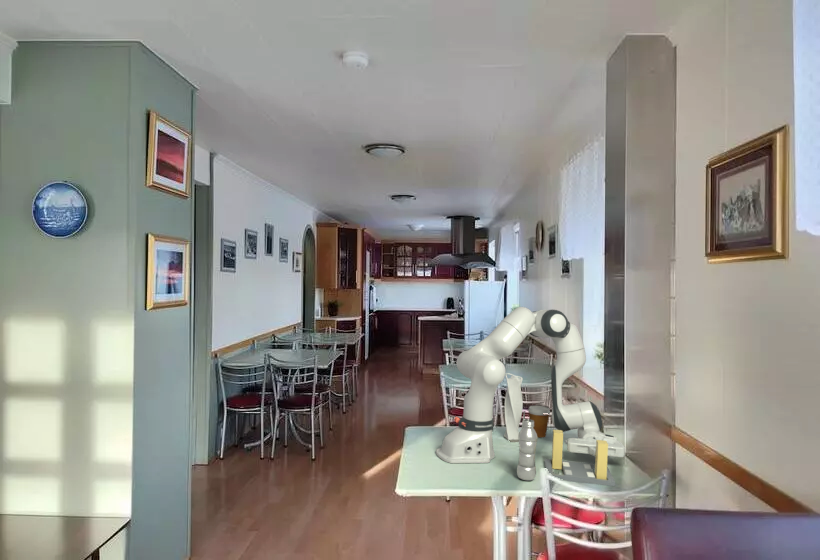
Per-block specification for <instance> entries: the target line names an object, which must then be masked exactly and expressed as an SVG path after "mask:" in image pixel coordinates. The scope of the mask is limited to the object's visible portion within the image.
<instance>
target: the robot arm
mask: <svg viewBox="0 0 820 560" xmlns="http://www.w3.org/2000/svg"><path fill="white" fill-rule="evenodd" d="M528 335H531V336H532V337H536V338H544V339H546V338H550V339H551V340H552V342H553V344H554V347H555V352H556V361H555V364H554V365H553V366H552V367H551V374H550V375H551V377H550V378H551V385H550V386H551V405H552V409H551V422H552V425H553V427H554V428H555V430H562V431H563V433H565V432H568V431H571V430H577V437H569V438H567V439H565V441H564V443H565V445H566V446H567V447H566V449H567V450H566V451H567V452H569V453H576V454H584V455H585V454H586V455H589V456H593V457H596V440H603V441H607V443H608V457H615V458H624V457H625V456H626V455H625V454H626V447H625V445H624V444H623V443H622V442H621V441H620V440H618V437H617V436H616V435H611V434H606V433H603V432H602V431H601V428H602V426H603V420H602V415H601V413H600V409H599V408H598V406H597V405H596V404H595V403H593V401H589V400H588V401H582V402H578V403H569V404H563V389H562V388H563V384H564V382H565V381H566V380H567V379H568V378H570V377H571V376H573V375H575V374H576V373H578V372H579V371H581V369H583V368H584V366H585V364H586V362H587V355H586V354H587V353H586V349H585V345H584V341H583V338H582V336H581V333H580V331H579V328H578V326H577V325H576V324H575V323H572V322H570V321H569V320H568V318H567V316H566V315H565V314H564V312H562V311H560V310H557V309H541V310H535V311H532V310H531V309H529V308H527V307H525V306H518V307H516V308H514V309H512V311H511V312H510V313H508V314H507V315H506V316H504V318H503V319H502V320H501V321H500V323H499V324H497V326H496V327H495V328H494V329H493V330H491V332H490V333H489V334H488V335H487V336H486V337H485V338H483V339H482V340H481V341H479V342H478V343H476V344H475V345H474V346H472V347H471V348H469V349H467V350H464V351H462V352H460V354H459V355H458V356H457V359H456V368H457V370H458V371H459V372H460V374H462V376H463V377H466V378H468V379H470V380H471V381H470V382H471V383H470V385H469V386H470V387H469V389H468V390H469V392H468V393H467V392H466V393H467V394H465V395H464V397H463V412H462V413H463V414H462V417H461V418H459V416H455V417H453V418H454V419H453V420H454V423H456V424H458V426H457V427H455V428H454V429H453V430H452V431H450V432H449V433H448V434H447V435H445V437H443V440H442V445H441V447H440V448H439V447H438V448H436V450H435V454H436V456H437V457H438V458H440V459H441V461H444V462H446V463H450V464H482V463H483V464H488V463H490V462H491V460H493V459H494V458H496V453H495V450H494V441H493V432H494V418H493V411H494V400H495V399H494V398H495V394H496V392H497V389H498V386H499V385H500V384H501V383H502V382H503V381H504V379H505V378H506V375H505V374H506V373H507V372H506V366H505V365H504V363H503V362H502V361H501V360H502V359H504V358H507V357H509V356H510V355H512V353H514V352H515V350H516V349H517V348H518V347H519V346H520V344H521V343H523V341H524V340H525V339H526V337H527V336H528Z"/></svg>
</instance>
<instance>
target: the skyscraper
mask: <svg viewBox="0 0 820 560" xmlns="http://www.w3.org/2000/svg"><path fill="white" fill-rule="evenodd" d="M507 375H510V377H508V376H507ZM505 379H506V384H507V389H506V393H505V399H504V421H505V431H504V434H503V438H504V437H505V438H506V439H505V438H504V439H505V440H507V441H508V440H509V441H510V443H519V438H518V435H519V432H520V431H519V427H520V423H521V429H522V428H523V427H524V426H523V420H525V419H526V415H525V414H526V411H525V410H523V407H524V406H523V405H524V404H523V403H524V402H523V394H522V390H521V386H522V384H523V380H524V379H523V377H522V376H519V375H515V374H513V373H509V372H506V373H505ZM522 414H523V416H522ZM521 420H522V421H521ZM509 441H508V442H509Z"/></svg>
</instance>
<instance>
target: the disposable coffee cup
mask: <svg viewBox="0 0 820 560" xmlns="http://www.w3.org/2000/svg"><path fill="white" fill-rule="evenodd" d="M527 412H528V415H529V418H528V419H530V420H533V421H534V427H533V429H534V430H535V432H536V434H537V438H546V435H547V430H548V424H549V417H550V415H551V410H550V408H549V407H548V406H544V405H530V406H529V407H528V409H527ZM543 413H548V414H549V415H543Z"/></svg>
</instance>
